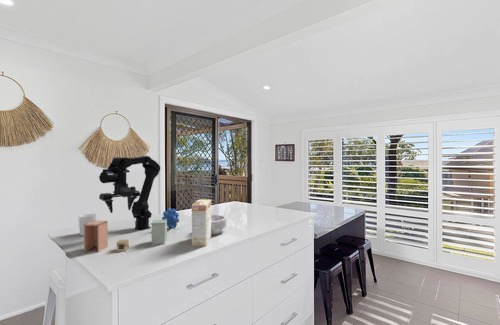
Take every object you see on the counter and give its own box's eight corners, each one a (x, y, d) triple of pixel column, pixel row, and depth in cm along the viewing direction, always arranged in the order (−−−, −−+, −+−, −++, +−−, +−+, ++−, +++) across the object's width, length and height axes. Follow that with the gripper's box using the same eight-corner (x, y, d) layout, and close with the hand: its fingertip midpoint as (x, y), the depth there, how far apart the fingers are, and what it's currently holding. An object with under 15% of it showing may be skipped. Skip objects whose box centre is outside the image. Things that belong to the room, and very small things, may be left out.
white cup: (88, 236, 137) (87, 217, 137) (75, 235, 138) (74, 216, 138) (99, 232, 145) (99, 214, 144) (87, 231, 146) (87, 213, 146)
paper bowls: (192, 233, 143) (192, 219, 142) (209, 227, 156) (209, 213, 156) (215, 237, 136) (215, 222, 135) (231, 230, 149) (231, 216, 149)
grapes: (167, 232, 145) (167, 210, 145) (159, 230, 149) (159, 209, 149) (183, 227, 155) (183, 207, 154) (176, 225, 159) (176, 205, 158)
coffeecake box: (198, 236, 138) (198, 199, 138) (211, 236, 138) (211, 199, 137) (191, 246, 123) (191, 204, 123) (206, 246, 123) (206, 204, 122)
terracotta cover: (93, 246, 122) (93, 220, 122) (107, 246, 122) (107, 220, 122) (84, 251, 116) (83, 224, 115) (98, 251, 115) (98, 224, 115)
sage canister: (154, 240, 131) (153, 220, 131) (167, 239, 132) (167, 219, 132) (151, 244, 125) (151, 223, 125) (165, 244, 126) (165, 222, 126)
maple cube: (119, 248, 120) (119, 239, 120) (128, 248, 121) (128, 239, 120) (116, 251, 116) (116, 242, 116) (126, 251, 117) (126, 242, 116)
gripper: (109, 184, 125) (109, 216, 125) (145, 181, 139) (145, 210, 140) (98, 182, 131) (98, 213, 132) (134, 179, 146) (134, 207, 147)
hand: (120, 211), depth 137 cm, fingers open, 9 cm apart
